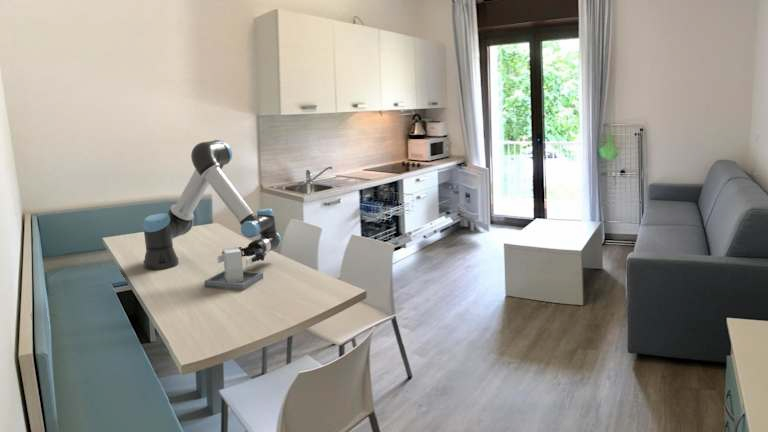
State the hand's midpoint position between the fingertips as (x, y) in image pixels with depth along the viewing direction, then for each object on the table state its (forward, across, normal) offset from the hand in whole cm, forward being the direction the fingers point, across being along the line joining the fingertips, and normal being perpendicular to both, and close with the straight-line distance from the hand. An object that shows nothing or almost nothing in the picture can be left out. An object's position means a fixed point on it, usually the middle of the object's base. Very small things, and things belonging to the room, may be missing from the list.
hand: (232, 261), depth 230 cm
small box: (-1, 0, -9) cm, 9 cm away
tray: (-1, 0, -9) cm, 9 cm away
